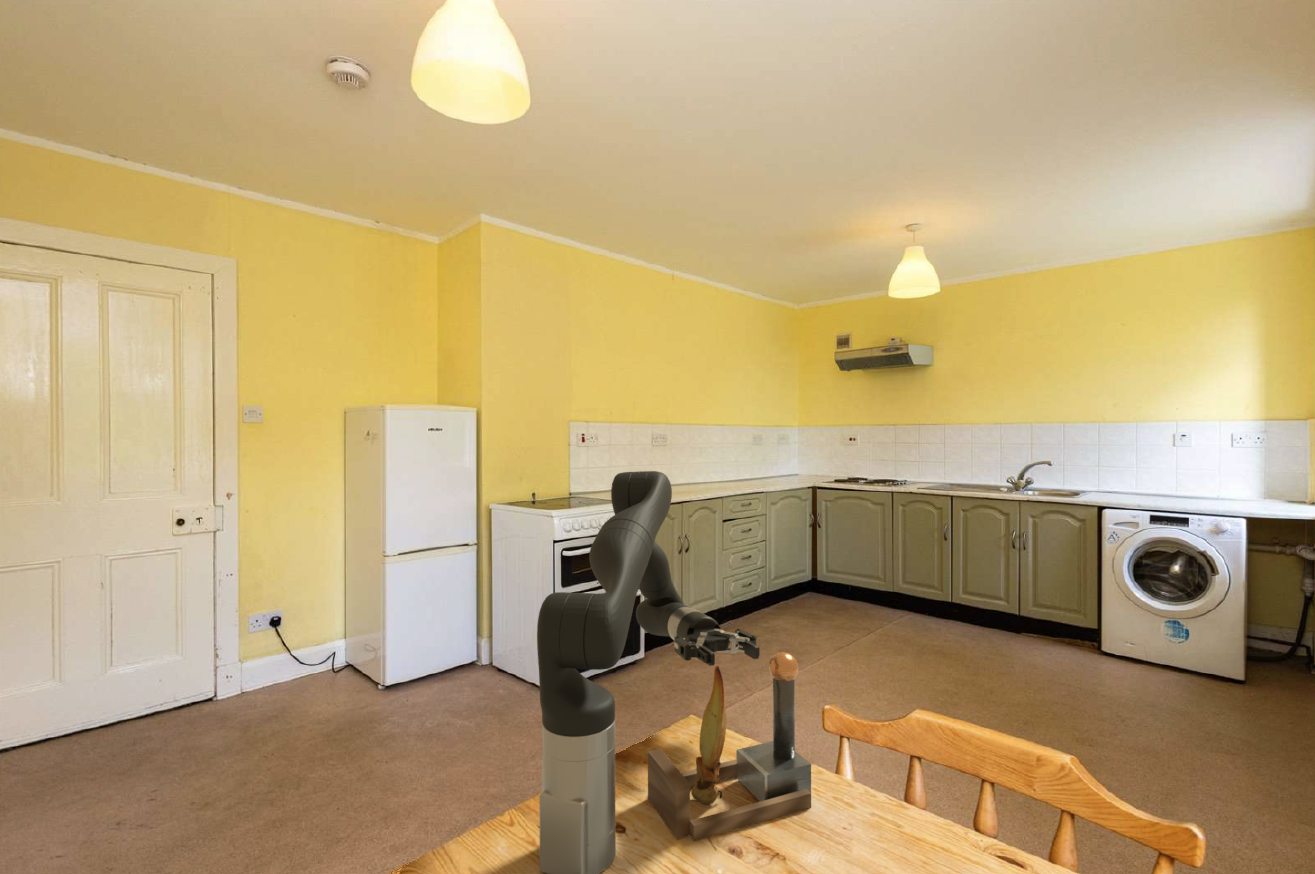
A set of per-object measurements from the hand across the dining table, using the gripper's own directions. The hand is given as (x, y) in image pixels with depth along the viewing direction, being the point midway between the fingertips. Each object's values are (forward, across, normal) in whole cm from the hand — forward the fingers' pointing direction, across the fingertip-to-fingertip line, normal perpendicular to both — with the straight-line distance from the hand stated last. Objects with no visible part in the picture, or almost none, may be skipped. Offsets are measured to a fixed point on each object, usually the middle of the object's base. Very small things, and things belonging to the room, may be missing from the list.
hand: (735, 656), depth 104 cm
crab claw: (+11, -11, +17) cm, 23 cm away
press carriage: (+11, 0, +16) cm, 20 cm away
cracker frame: (+11, -8, +16) cm, 21 cm away
